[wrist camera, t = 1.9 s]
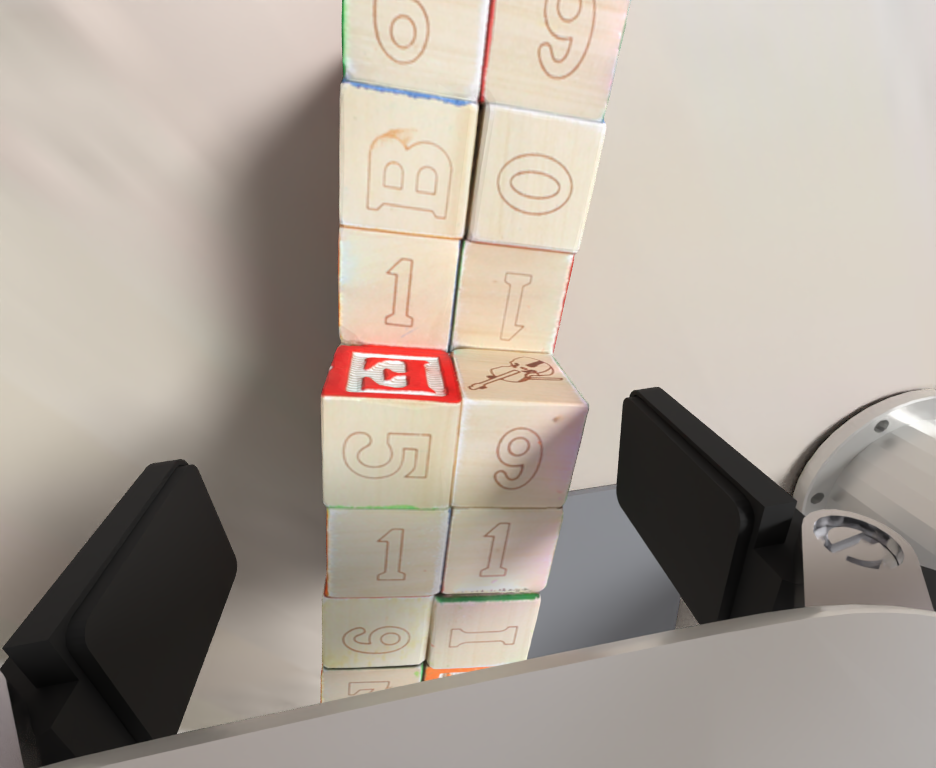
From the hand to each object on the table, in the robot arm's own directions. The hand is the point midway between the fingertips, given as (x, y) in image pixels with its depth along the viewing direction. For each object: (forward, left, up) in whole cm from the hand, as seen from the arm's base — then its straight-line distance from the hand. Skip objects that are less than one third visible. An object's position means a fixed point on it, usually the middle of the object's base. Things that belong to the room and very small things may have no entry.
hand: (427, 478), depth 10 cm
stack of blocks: (-1, 0, -13) cm, 13 cm away
